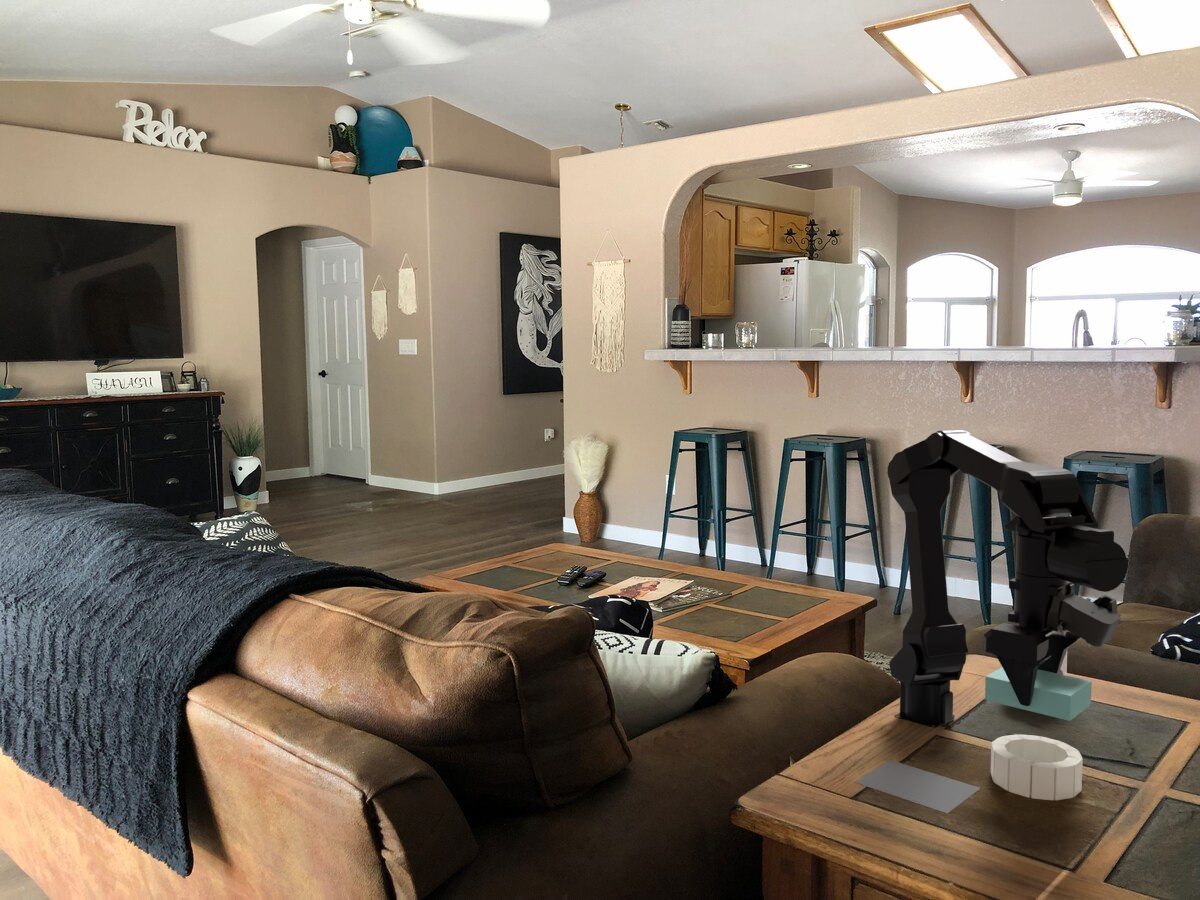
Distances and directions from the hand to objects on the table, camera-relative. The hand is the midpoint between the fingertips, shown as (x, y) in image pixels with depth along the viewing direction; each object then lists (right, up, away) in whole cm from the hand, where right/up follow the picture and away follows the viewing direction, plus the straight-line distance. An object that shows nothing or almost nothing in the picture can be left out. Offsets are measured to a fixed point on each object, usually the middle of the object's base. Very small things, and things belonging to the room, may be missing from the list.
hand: (1037, 697), depth 118 cm
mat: (-15, -12, 0) cm, 19 cm away
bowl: (0, -11, +1) cm, 11 cm away
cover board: (0, -1, 0) cm, 1 cm away
